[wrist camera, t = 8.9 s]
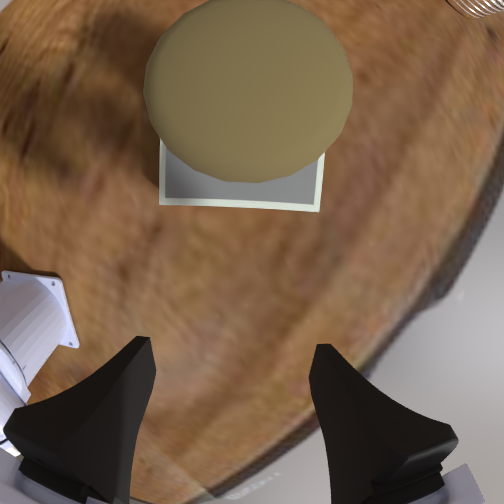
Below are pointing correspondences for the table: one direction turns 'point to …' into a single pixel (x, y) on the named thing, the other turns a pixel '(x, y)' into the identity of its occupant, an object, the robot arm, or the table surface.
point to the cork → (248, 89)
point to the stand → (238, 187)
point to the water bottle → (477, 7)
